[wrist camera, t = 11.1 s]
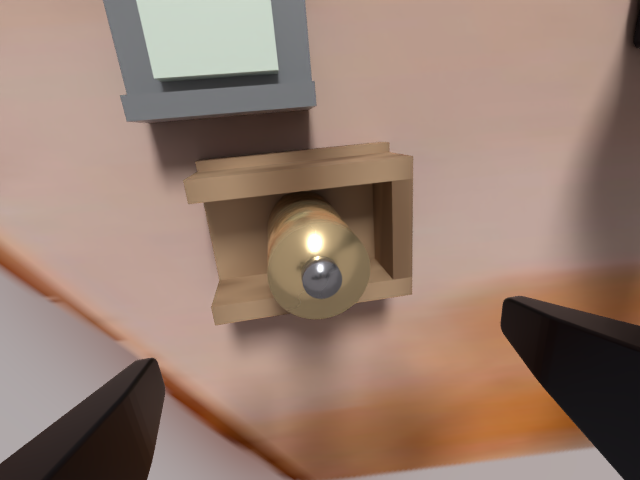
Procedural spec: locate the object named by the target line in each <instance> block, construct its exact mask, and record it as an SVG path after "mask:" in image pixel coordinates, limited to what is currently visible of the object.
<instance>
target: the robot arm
mask: <svg viewBox="0 0 640 480" xmlns="http://www.w3.org/2000/svg"><path fill="white" fill-rule="evenodd" d="M634 45H635V47H636V48H640V11H639V16H638V21H637V26H636V31H635V36H634ZM501 329H502V332H503V334H504V335H505V337H506V338H507V339H508V341H509V342H510V344H511V345H512V346H513V348H514V349H515V350H516V352H517V353H518V354H519V356H520V357H521V359H522V360H523V361H524V363H525V364H526V365H527V367H528V368H529V370H530V371H531V372H532V374H533V375H534V376H535V378H536V379H537V380H538V381H539V383H540V384H541V385H542V386H543V387H544V389H545V390H546V391H547V392H548V393H549V394H550V396H551V397H552V398H553V399H554V400H555V401H556V402H557V404H558V405H559V406H560V407H561V408H562V409H563V410H564V412H565V413H566V414H567V415H568V416H569V417H570V418H571V420H572V421H573V422H574V423H575V424H576V425H577V426H578V428H579V429H580V430H581V431H582V432H583V433H584V434H585V436H586V437H587V438H588V439H589V440H590V441H591V442H592V444H593V445H594V446H595V447H596V448H597V449H598V450H599V451H600V453H601V454H602V455H603V456H604V457H605V458H606V460H607V461H608V462H609V463H610V464H611V465H612V466H613V468H614V469H615V470H616V471H617V472H618V473H619V474H620V476H622V478H623V479H624V480H640V326H638V325H634V324H630V323H626V322H622V321H618V320H614V319H610V318H606V317H602V316H599V315H595V314H591V313H587V312H583V311H579V310H575V309H571V308H567V307H563V306H559V305H555V304H551V303H547V302H543V301H540V300H536V299H532V298H528V297H524V296H515V297H509V298H506V299H505V300H504V302H503V306H502V315H501ZM164 397H165V385H164V382H163V378H162V375H161V372H160V368H159V365H158V362H157V360H156V359H154V358H147V359H141V360H137V361H135V362H133V363H132V364H131V365H129V366H128V367H127V368H125V369H124V370H123V371H121V372H120V373H119V374H118V375H116V376H115V377H114V378H112V379H111V380H110V381H108V382H107V383H106V384H105V385H103V386H102V387H101V388H99V389H98V390H97V391H95V392H94V393H93V394H91V395H90V396H89V397H87V398H86V399H85V400H83V401H82V402H81V403H79V404H78V405H77V406H76V407H74V408H73V409H72V410H70V411H69V412H68V413H66V414H65V415H64V416H62V417H61V418H60V419H58V420H57V421H56V422H54V423H53V424H52V425H51V426H49V427H48V428H47V429H45V430H44V431H43V432H41V433H40V434H39V435H37V436H36V437H35V438H33V439H32V440H31V441H30V442H28V443H27V444H26V445H24V446H23V447H22V448H20V449H19V450H18V451H16V452H15V453H14V454H12V455H11V456H10V457H9V458H7V459H6V460H5V461H3V462H2V463H1V464H0V480H147V478H148V474H149V471H150V467H151V463H152V459H153V455H154V450H155V445H156V439H157V434H158V429H159V424H160V418H161V413H162V408H163V402H164Z"/></svg>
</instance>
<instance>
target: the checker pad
mask: <svg viewBox="0 0 640 480" xmlns="http://www.w3.org/2000/svg"><path fill="white" fill-rule="evenodd" d="M136 2H137V6H138V11H139V15H140V19H141V24H142V28H143V33H144V37H145V41H146V46H147V50H148V55H149V59H150V63H151V68H152V72H153V76H154V79H156V80H158V81H160V82H168V81H182V80H196V79H210V78H224V77H239V76H253V75H267V74H278V71H279V68H278V60H277V51H276V42H275V33H274V24H273V16H272V7H271V0H136Z"/></svg>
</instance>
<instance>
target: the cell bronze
mask: <svg viewBox="0 0 640 480" xmlns="http://www.w3.org/2000/svg"><path fill="white" fill-rule="evenodd" d="M267 275H268V284H269V288H270V290H271V293H272V295H273V297H274V298H275V300H276V301H277V302H278V304H279V305H280V306H282V307H283V308H284V309H285V310H286V311H288V312H290V313H291V314H293V315H296V316H298V317H302V318H306V319H325V318H330V317H333V316H336V315H338V314H341V313H343V312H344V311H346V310H348V309H349V308H350V307H351V306H353V305H354V304H355V303H356V302H357V301H358V300H359V298H360V297H361V296H362V294H363V293H364V291H365V289H366V287H367V284H368V281H369V277H370V260H369V256H368V253H367V251H366V248H365V247H364V245H363V243H362V242H361V241H360V240H359V239H358V237H357V236H356V235H355V234H354V233H353V231H352V230H351V229H350V228H349V227H348V225H347V224H346V223H345V222H344V221H343V219H342V218H341V217H340V216H339V215H338V213H337V212H336V211H335V210H334V209H333V207H332V206H331V205H330V204H329V203H328V201H327V200H325V199H324V198H323V197H321V196H320V195H318V194H315V193H312V192H307V191H300V192H294V193H290V194H288V195H286V196H284V197H283V198H281V199H280V200H279V201H278V202H277V203H276V204H275V205H274V207H273V208H272V210H271V212H270V215H269V219H268V267H267Z"/></svg>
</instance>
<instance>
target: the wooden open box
mask: <svg viewBox="0 0 640 480" xmlns="http://www.w3.org/2000/svg"><path fill="white" fill-rule="evenodd" d="M195 163H196V168H197V172H196V173H195V174H193V175H191V176H190V177H188V178H187V179H185V180H183V182H184V187H185V191H186V196H187V200H188V204H194V203H203V202H204V207H205V212H206V217H207V222H208V227H209V231H210V236H211V241H212V246H213V251H214V256H215V261H216V266H217V270H218V275H219V284H218V287H217V290H216V293H215V297H214V300H213V303H212V306H211V309H212V313H213V318H214V322H215V325H221V324H227V323H234V322H240V321H246V320H253V319H259V318H265V317H272V316H278V315H284V314H291V313H290V312H288V311H286V310H285V309H284V308H283V307H282V306H280V305H279V304H278V302H277V301H276V300H275V298H274V297H273V295H272V293H271V290H270V288H269V284H268V275H267V267H268V219H269V215H270V212H271V210H272V208H273V207H274V205H275V204H276V203H277V202H278V201H279V200H280V199H281V198H283V197H284V196H286V195H288V194H290V193H294V192H300V191H307V192H312V193H315V194H318V195H320V196H321V197H323V198H324V199H325V200H327V201H328V203H329V204H330V205H331V206H332V207H333V209H334V210H335V211H336V212H337V213H338V215H339V216H340V217H341V218H342V219H343V221H344V222H345V223H346V224H347V225H348V227H349V228H350V229H351V230H352V231H353V233H354V234H355V235H356V236H357V237H358V239H359V240H360V241H361V242H362V243H363V245H364V247H365V248H366V251H367V253H368V256H369V260H370V277H369V281H368V284H367V287H366V289H365V291H364V293H363V294H362V296H361V297H360V298H359V300H358V301H357V302H356V303H360V302H367V301H373V300H379V299H386V298H392V297H398V296H405V295H411V294H412V220H413V156H408V155H403V154H397V153H391V152H389V142H377V143H367V144H357V145H347V146H336V147H326V148H316V149H306V150H296V151H286V152H276V153H266V154H256V155H245V156H235V157H225V158H215V159H205V160H198V161H196V162H195Z"/></svg>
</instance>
